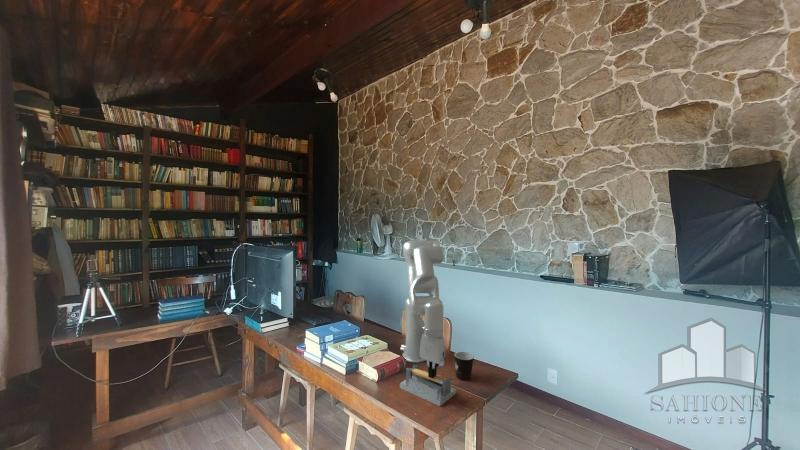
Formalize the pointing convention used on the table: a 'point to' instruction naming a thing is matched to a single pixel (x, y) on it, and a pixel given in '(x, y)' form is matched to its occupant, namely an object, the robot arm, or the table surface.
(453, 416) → the table surface
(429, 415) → the table surface
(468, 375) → the coffee mug
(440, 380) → the tan rectangular bar
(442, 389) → the grey slotted holder
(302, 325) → the table surface
